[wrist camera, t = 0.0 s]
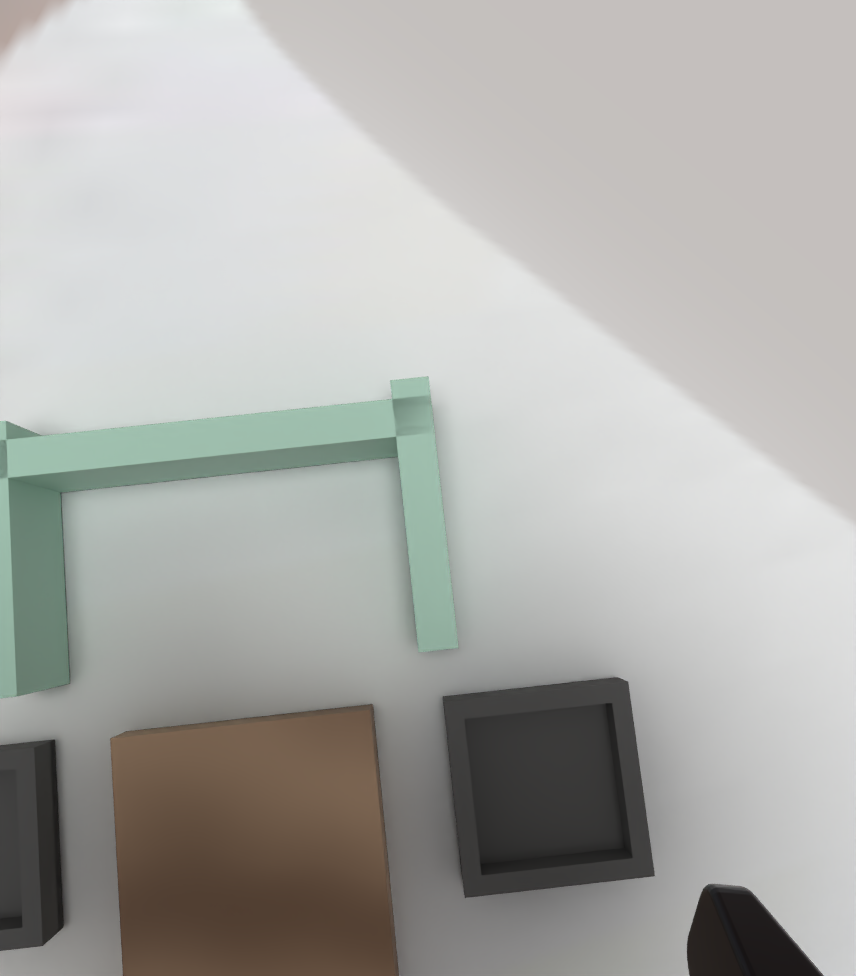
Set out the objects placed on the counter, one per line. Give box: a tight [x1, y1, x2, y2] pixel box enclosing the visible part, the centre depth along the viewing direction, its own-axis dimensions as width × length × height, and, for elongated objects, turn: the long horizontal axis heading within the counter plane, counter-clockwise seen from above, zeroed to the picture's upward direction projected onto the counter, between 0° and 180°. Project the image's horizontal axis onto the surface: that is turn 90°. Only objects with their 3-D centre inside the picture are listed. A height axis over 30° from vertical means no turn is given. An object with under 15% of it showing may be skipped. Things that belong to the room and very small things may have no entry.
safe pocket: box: [0, 377, 458, 698], centre depth 22 cm, size 7×12×3 cm, turn 96°
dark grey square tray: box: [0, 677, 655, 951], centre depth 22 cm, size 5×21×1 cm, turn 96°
